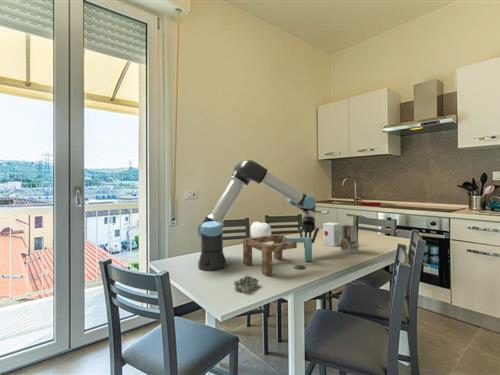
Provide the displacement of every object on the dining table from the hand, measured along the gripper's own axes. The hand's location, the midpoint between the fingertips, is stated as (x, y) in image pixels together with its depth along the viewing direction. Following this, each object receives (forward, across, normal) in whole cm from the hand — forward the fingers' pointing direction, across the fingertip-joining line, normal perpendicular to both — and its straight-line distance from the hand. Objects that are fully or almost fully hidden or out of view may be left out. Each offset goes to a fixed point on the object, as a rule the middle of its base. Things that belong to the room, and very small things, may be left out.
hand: (307, 252), depth 157 cm
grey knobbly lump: (+37, +22, +30) cm, 52 cm away
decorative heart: (-15, +34, -22) cm, 43 cm away
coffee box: (-14, -24, -20) cm, 35 cm away
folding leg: (+6, +5, +1) cm, 8 cm away
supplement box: (-26, -14, -33) cm, 44 cm away
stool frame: (+14, +16, +8) cm, 22 cm away
